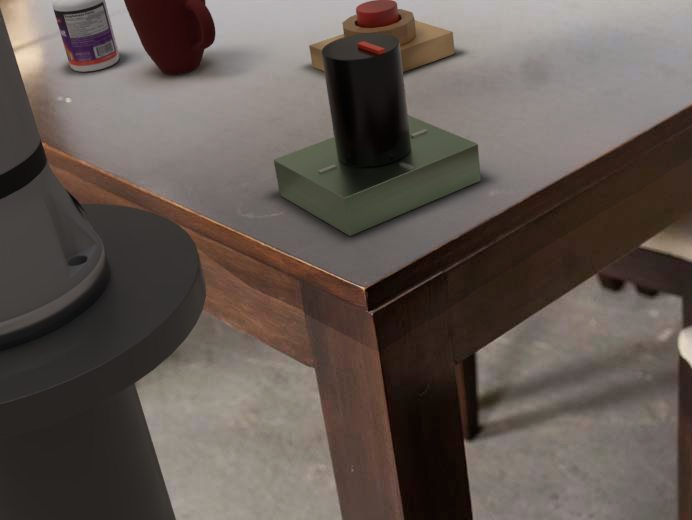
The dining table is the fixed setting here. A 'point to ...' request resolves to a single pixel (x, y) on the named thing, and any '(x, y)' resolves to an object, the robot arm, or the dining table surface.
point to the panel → (377, 178)
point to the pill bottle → (86, 34)
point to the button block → (414, 37)
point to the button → (377, 13)
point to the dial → (367, 99)
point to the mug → (173, 32)
